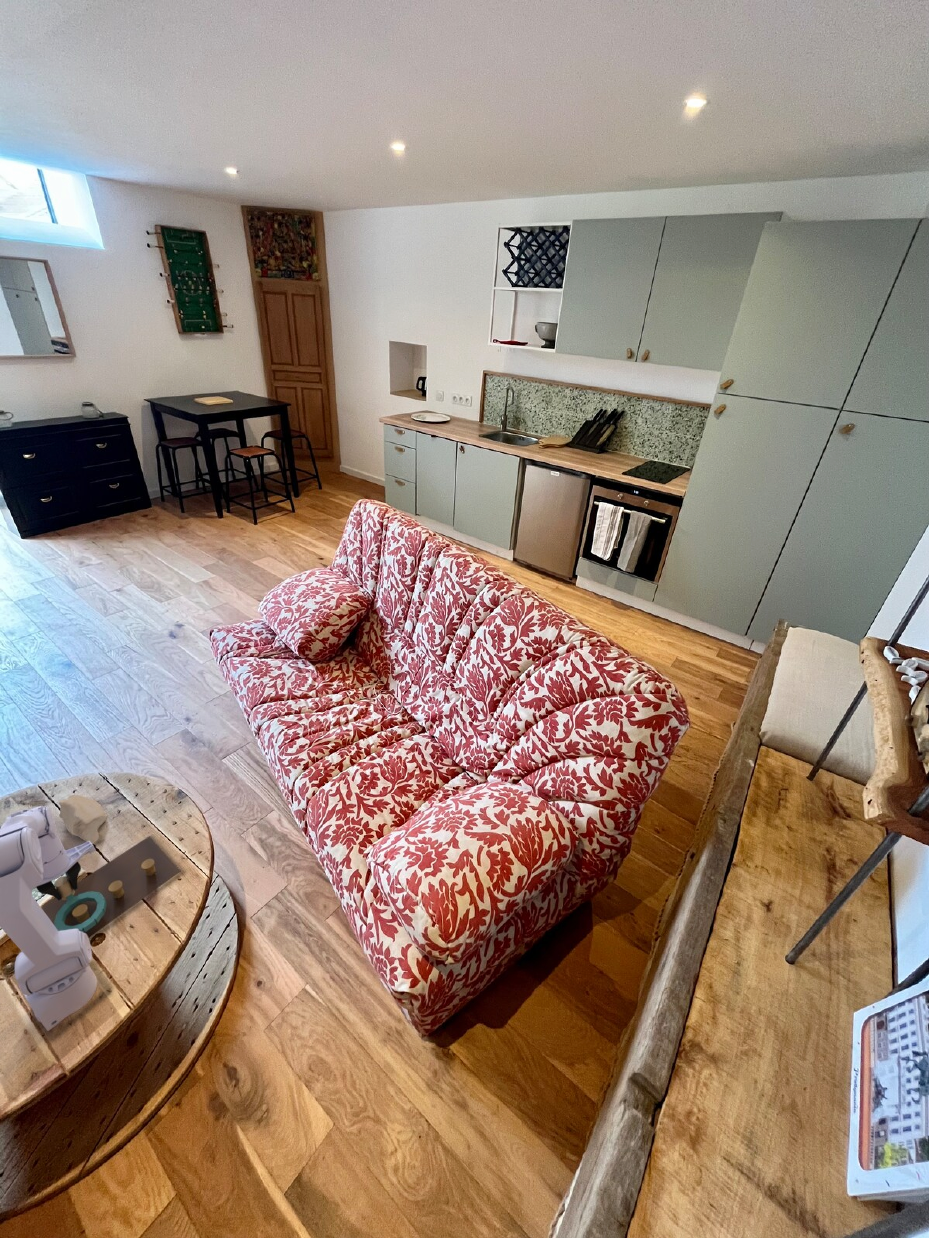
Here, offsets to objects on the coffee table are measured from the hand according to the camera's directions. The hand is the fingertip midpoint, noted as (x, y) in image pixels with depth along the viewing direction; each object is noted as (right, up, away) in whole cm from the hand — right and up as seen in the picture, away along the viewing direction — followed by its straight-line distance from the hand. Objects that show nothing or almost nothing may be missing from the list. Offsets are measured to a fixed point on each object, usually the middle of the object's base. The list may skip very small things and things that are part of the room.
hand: (66, 891), depth 111 cm
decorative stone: (-9, +7, +19) cm, 22 cm away
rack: (+8, -2, +5) cm, 9 cm away
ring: (+4, -3, -2) cm, 5 cm away
